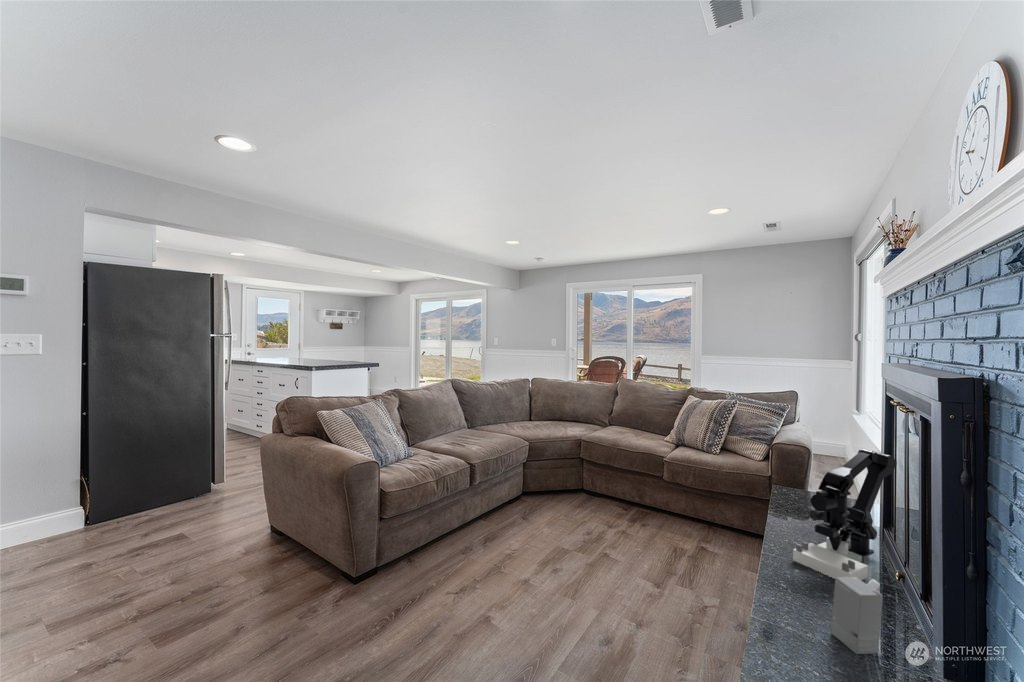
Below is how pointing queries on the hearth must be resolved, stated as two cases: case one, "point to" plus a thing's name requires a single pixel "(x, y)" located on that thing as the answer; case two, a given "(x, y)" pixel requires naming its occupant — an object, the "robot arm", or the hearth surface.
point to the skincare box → (856, 615)
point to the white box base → (828, 562)
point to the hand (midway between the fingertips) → (837, 549)
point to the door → (841, 550)
